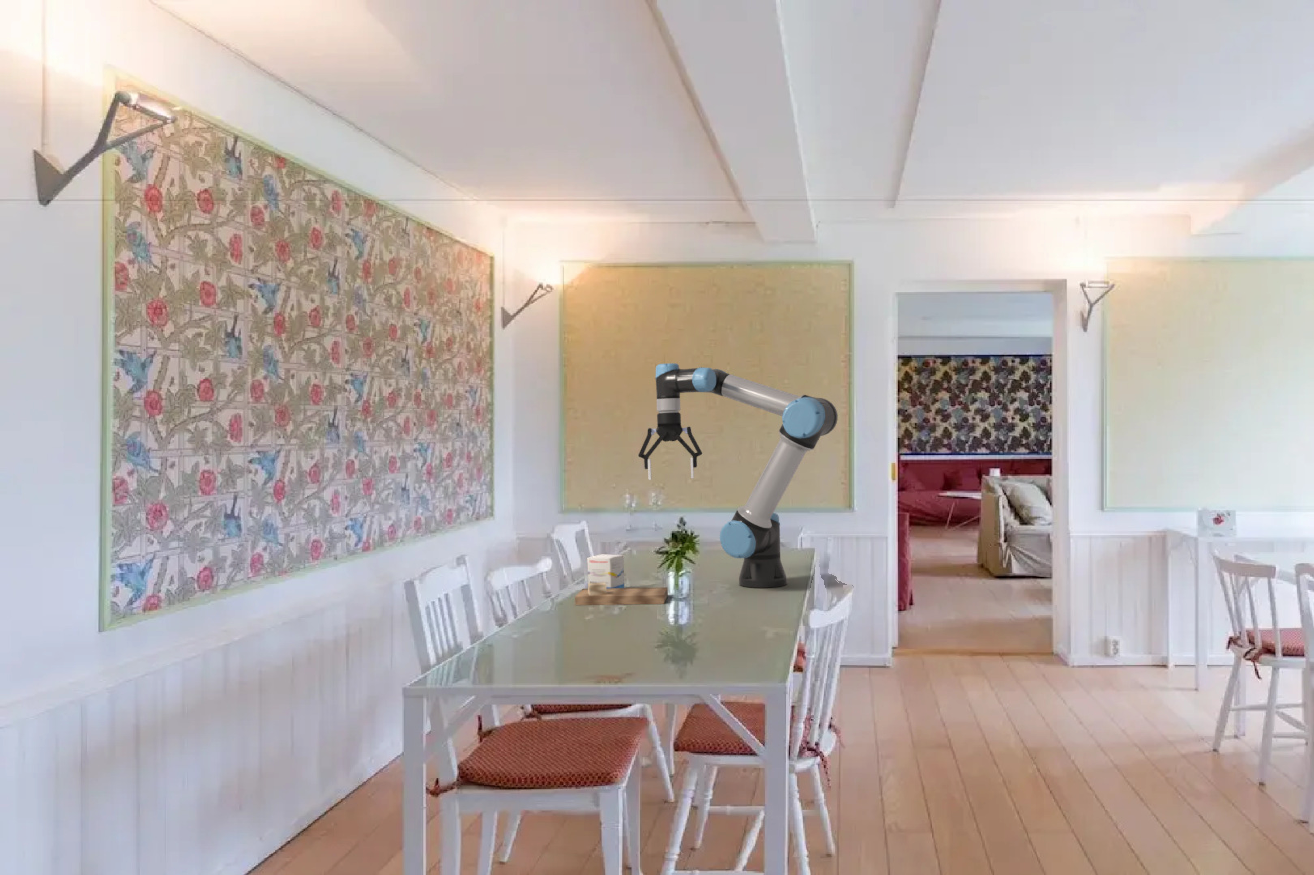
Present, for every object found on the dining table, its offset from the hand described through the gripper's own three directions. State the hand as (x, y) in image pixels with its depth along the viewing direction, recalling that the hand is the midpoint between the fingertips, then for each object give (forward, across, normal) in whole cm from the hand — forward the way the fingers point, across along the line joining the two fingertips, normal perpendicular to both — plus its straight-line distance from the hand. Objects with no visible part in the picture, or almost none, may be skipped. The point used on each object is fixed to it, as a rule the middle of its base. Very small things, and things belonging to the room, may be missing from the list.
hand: (671, 478), depth 324 cm
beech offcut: (+32, +21, +25) cm, 46 cm away
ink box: (+35, +21, +9) cm, 41 cm away
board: (+34, +14, +22) cm, 44 cm away
